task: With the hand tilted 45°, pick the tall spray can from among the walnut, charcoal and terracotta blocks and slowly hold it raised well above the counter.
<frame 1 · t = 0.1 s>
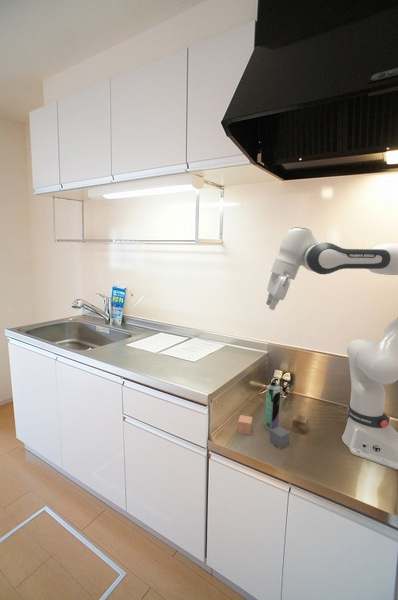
hand: (269, 306, 110), 52 cm above the counter, tool tilted 20°, fingers open, 8 cm apart
walnut block: (299, 429, 123), on the counter
terracotta block: (245, 430, 122), on the counter
spray can: (271, 427, 124), on the counter
charcoal block: (279, 443, 114), on the counter
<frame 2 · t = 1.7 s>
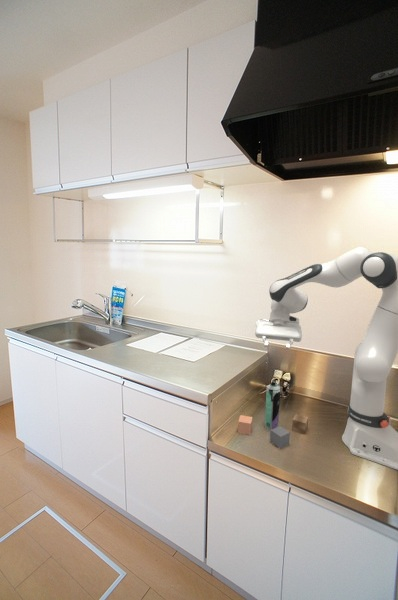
hand: (276, 347, 131), 31 cm above the counter, tool tilted 45°, fingers open, 8 cm apart
nothing on the counter moved.
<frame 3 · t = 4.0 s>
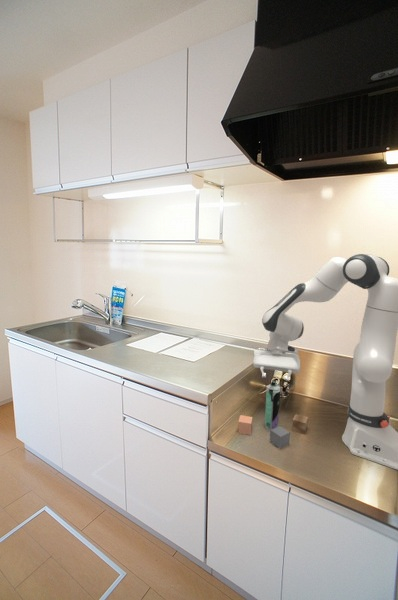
hand: (274, 378, 128), 18 cm above the counter, tool tilted 45°, fingers open, 8 cm apart
nothing on the counter moved.
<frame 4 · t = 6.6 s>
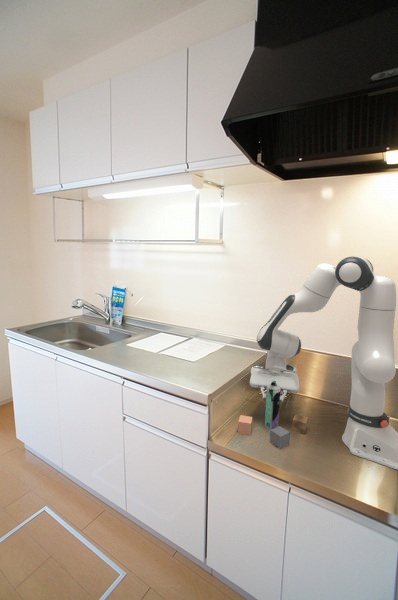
hand: (272, 399, 122), 12 cm above the counter, tool tilted 45°, fingers closed on spray can, 5 cm apart
spray can: (271, 427, 124), on the counter, touching gripper
everything else where it was.
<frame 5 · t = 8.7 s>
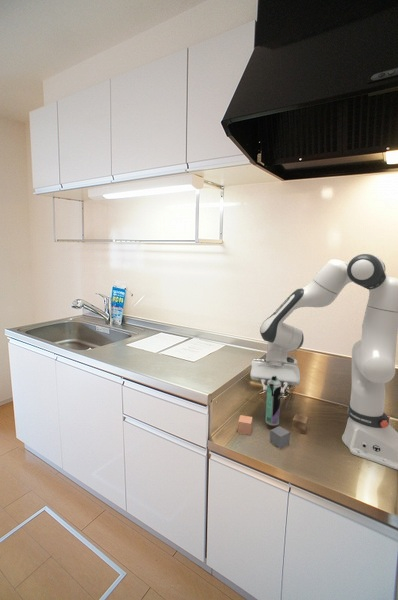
hand: (273, 392, 121), 16 cm above the counter, tool tilted 45°, fingers closed on spray can, 5 cm apart
spray can: (272, 422, 124), point 2 cm above the counter, touching gripper
everything else where it was.
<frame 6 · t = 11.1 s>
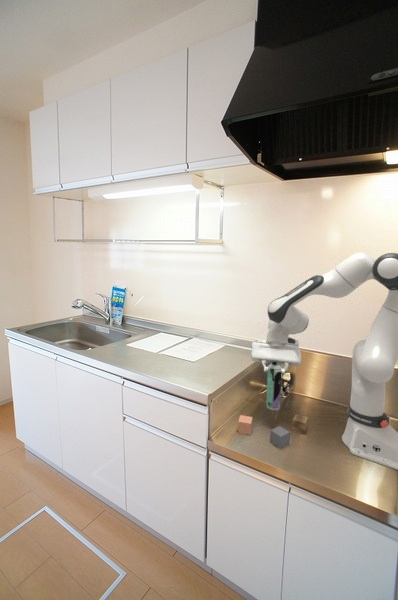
hand: (274, 372, 120), 24 cm above the counter, tool tilted 45°, fingers closed on spray can, 5 cm apart
spray can: (273, 407, 123), point 9 cm above the counter, touching gripper
everything else where it was.
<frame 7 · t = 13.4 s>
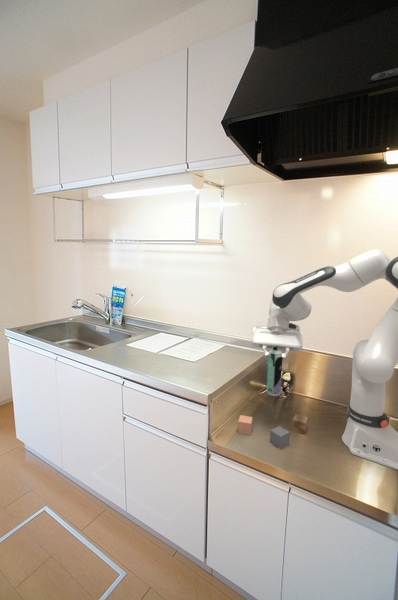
hand: (275, 357, 119), 30 cm above the counter, tool tilted 45°, fingers closed on spray can, 5 cm apart
spray can: (273, 393, 123), point 15 cm above the counter, touching gripper
everything else where it was.
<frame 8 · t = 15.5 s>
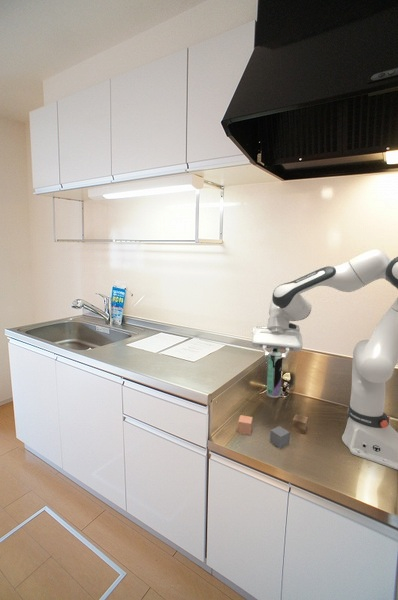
hand: (275, 357, 119), 30 cm above the counter, tool tilted 45°, fingers closed on spray can, 5 cm apart
spray can: (273, 394, 122), point 14 cm above the counter, touching gripper
everything else where it was.
at the end: the gripper is holding spray can; spray can point 14.1 cm above the counter; walnut block moved 0.1 cm from its start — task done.
